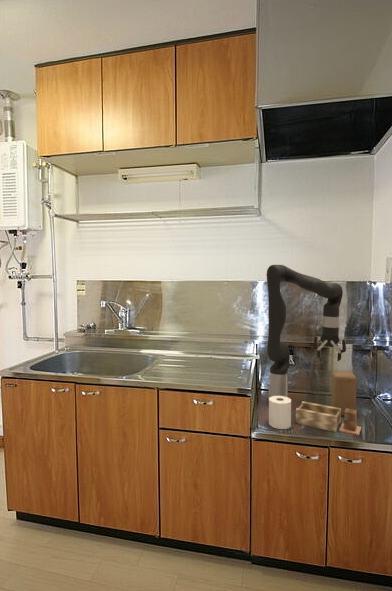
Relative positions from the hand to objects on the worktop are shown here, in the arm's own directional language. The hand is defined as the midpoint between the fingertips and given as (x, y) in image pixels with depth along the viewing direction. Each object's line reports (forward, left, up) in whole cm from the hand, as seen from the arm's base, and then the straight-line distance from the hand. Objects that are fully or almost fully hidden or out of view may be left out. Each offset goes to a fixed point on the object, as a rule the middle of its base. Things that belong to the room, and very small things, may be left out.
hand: (329, 359), depth 165 cm
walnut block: (+11, -5, -29) cm, 31 cm away
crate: (-3, -5, -30) cm, 30 cm away
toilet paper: (-18, -16, -30) cm, 39 cm away
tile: (+11, -5, -30) cm, 32 cm away
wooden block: (+5, +14, -30) cm, 33 cm away
